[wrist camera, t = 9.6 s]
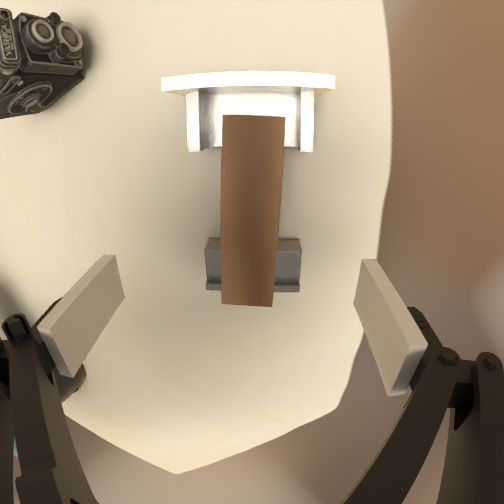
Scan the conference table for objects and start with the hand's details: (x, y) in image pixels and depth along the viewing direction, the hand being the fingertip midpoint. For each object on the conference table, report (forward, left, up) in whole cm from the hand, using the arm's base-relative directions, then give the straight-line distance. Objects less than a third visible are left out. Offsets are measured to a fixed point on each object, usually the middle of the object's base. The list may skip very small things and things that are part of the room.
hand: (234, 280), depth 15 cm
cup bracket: (0, +8, -18) cm, 19 cm away
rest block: (0, -7, -18) cm, 19 cm away
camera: (-23, +18, -18) cm, 34 cm away
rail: (0, 0, -15) cm, 15 cm away
